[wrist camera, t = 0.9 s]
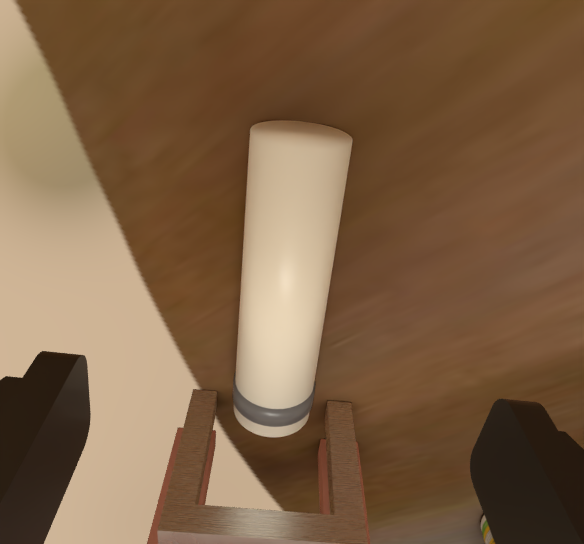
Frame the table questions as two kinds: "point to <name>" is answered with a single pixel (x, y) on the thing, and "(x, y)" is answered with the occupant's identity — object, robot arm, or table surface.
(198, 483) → the grey u-shaped panel
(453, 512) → the table surface
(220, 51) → the table surface
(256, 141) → the white long cylinder
